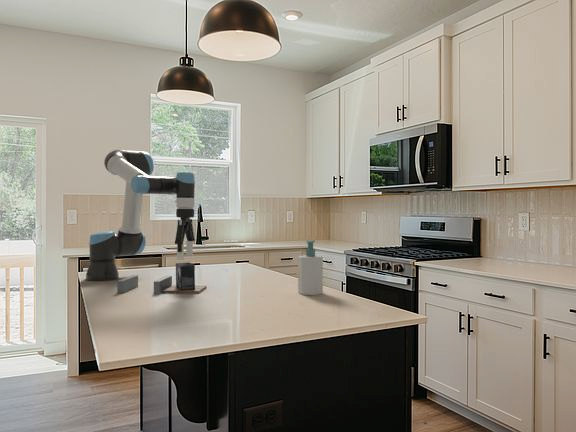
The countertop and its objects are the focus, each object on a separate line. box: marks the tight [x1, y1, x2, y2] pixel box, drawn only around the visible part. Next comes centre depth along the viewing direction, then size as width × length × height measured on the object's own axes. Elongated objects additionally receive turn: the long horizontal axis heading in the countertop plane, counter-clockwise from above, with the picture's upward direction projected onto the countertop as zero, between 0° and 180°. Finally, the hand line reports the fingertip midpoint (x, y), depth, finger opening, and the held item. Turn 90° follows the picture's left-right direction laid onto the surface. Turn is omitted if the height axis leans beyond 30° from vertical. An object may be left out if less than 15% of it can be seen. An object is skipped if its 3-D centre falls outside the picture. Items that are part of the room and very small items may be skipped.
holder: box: [116, 274, 173, 295], centre depth 199 cm, size 16×18×5 cm
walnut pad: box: [162, 284, 207, 295], centre depth 198 cm, size 13×15×1 cm
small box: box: [175, 261, 196, 291], centre depth 198 cm, size 11×6×10 cm, turn 25°
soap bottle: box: [297, 239, 324, 296], centre depth 193 cm, size 10×9×22 cm
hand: (185, 257), depth 198 cm, fingers open, 13 cm apart
